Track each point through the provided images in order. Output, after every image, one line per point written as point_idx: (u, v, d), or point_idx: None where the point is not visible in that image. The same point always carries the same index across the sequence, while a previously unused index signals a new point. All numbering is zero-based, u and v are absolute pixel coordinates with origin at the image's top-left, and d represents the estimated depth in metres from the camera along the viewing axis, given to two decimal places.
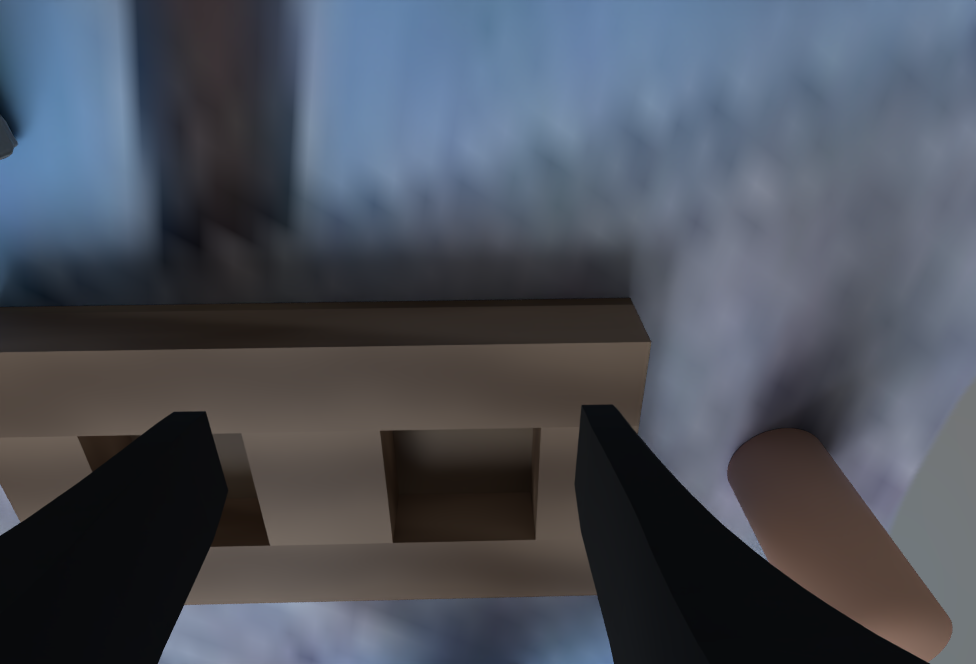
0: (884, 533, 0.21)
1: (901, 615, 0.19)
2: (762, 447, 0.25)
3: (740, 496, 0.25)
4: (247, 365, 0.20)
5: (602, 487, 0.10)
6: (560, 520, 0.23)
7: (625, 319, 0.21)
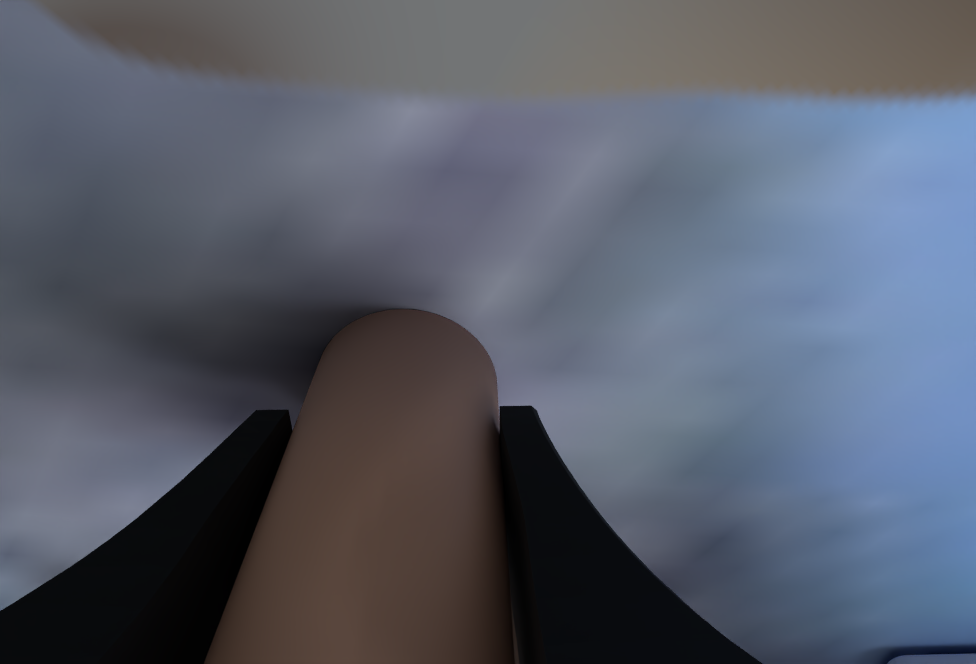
0: (254, 535, 0.09)
1: None
2: None
3: None
4: None
5: (509, 489, 0.10)
6: None
7: None
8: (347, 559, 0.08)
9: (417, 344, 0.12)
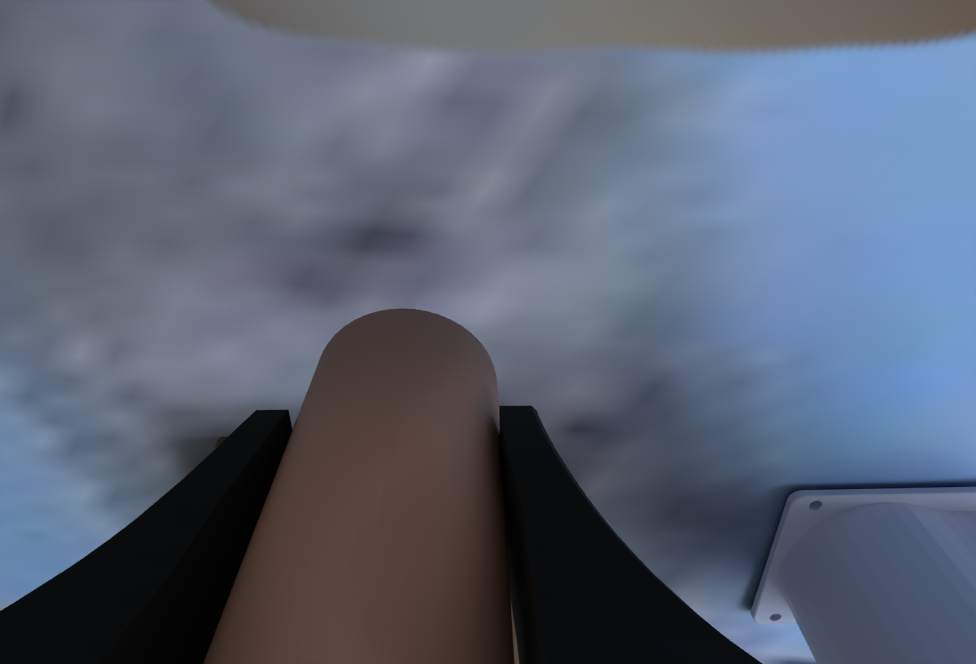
0: (254, 534, 0.09)
1: None
2: None
3: None
4: None
5: (508, 489, 0.10)
6: None
7: None
8: (347, 559, 0.08)
9: (417, 343, 0.12)
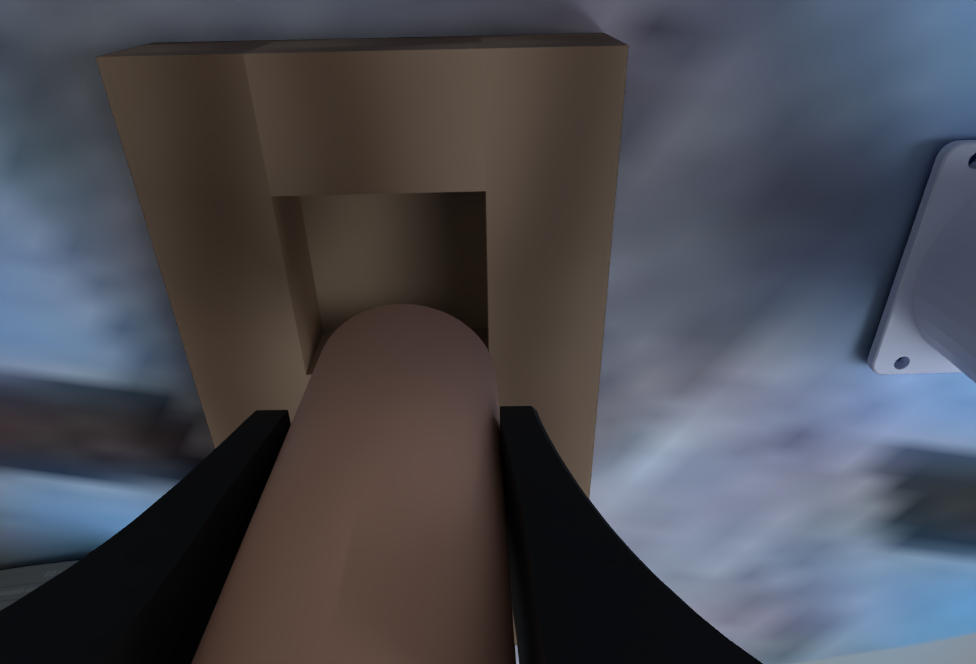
0: (253, 518, 0.09)
1: None
2: None
3: None
4: None
5: (509, 489, 0.10)
6: (444, 156, 0.15)
7: None
8: (348, 536, 0.07)
9: (418, 336, 0.12)
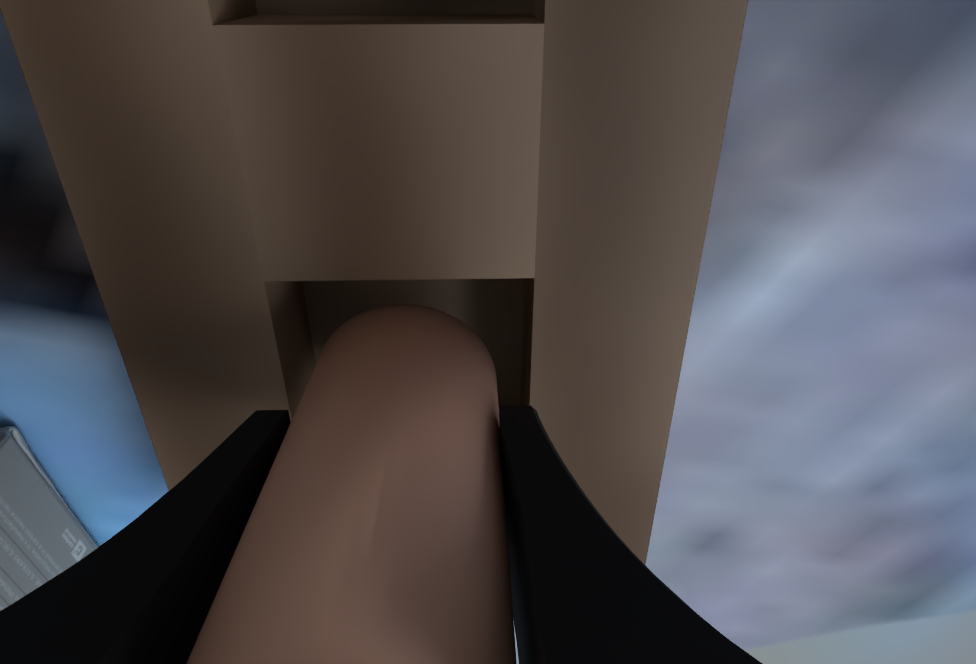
0: (253, 512, 0.09)
1: None
2: None
3: None
4: (117, 248, 0.12)
5: (509, 489, 0.10)
6: None
7: None
8: (347, 528, 0.07)
9: (419, 335, 0.12)
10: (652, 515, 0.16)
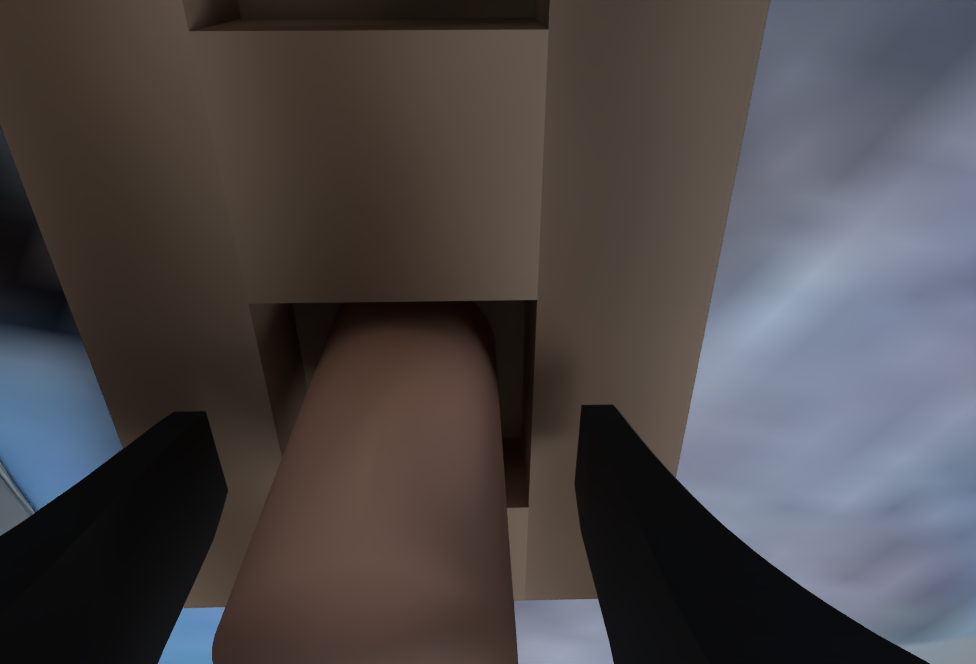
0: (283, 460, 0.10)
1: None
2: None
3: None
4: (90, 269, 0.11)
5: (602, 487, 0.10)
6: None
7: None
8: (370, 469, 0.09)
9: (424, 305, 0.13)
10: None
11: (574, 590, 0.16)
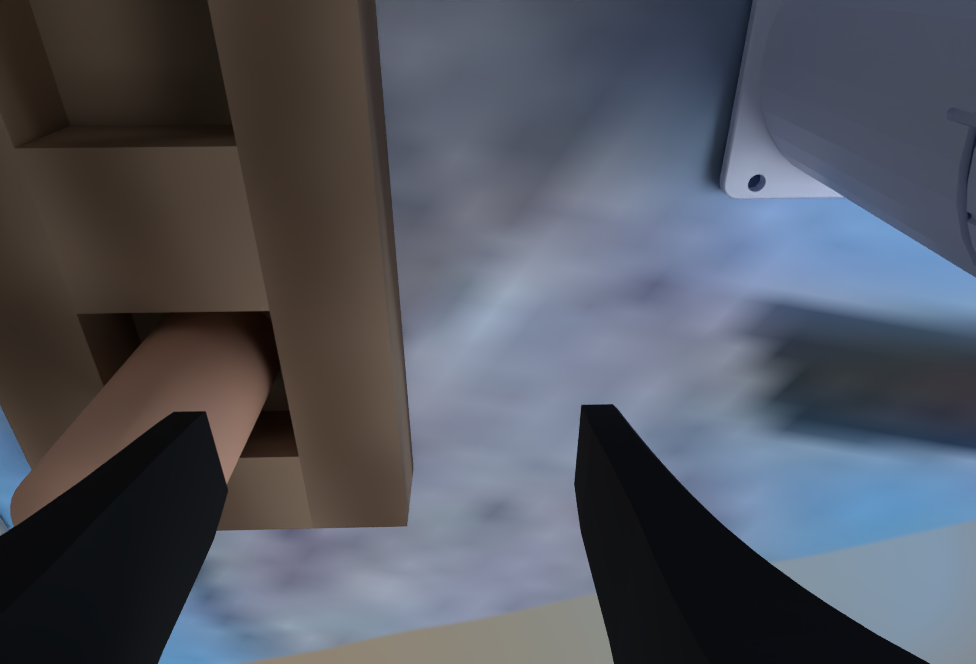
0: None
1: None
2: None
3: None
4: None
5: (602, 487, 0.10)
6: None
7: None
8: (113, 415, 0.15)
9: (210, 314, 0.19)
10: (401, 484, 0.21)
11: (348, 520, 0.22)
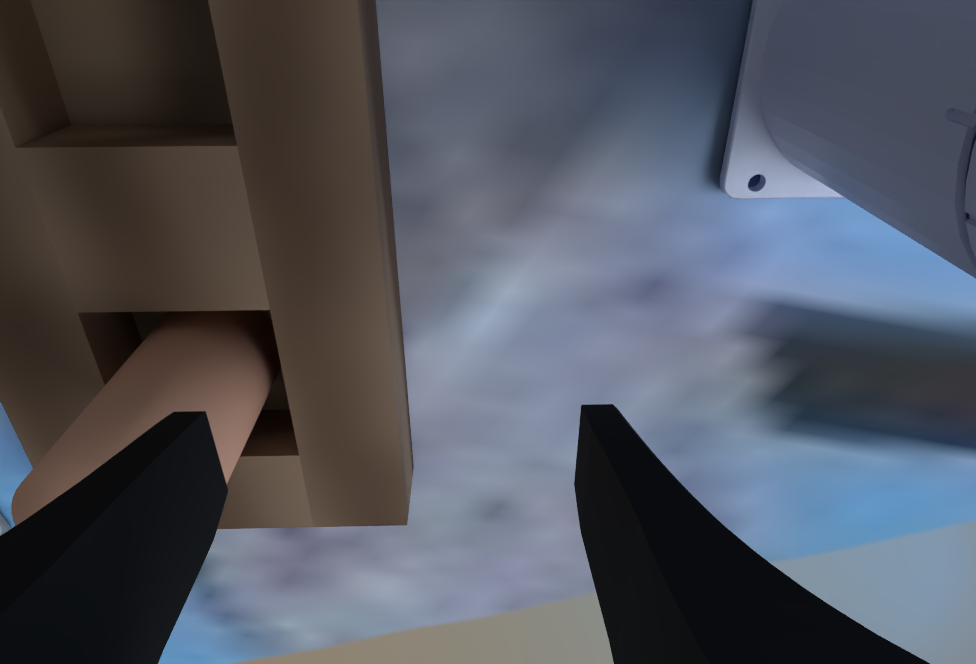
0: None
1: None
2: None
3: None
4: None
5: (602, 487, 0.10)
6: None
7: None
8: (114, 414, 0.15)
9: (211, 313, 0.19)
10: (401, 483, 0.21)
11: (348, 519, 0.22)
